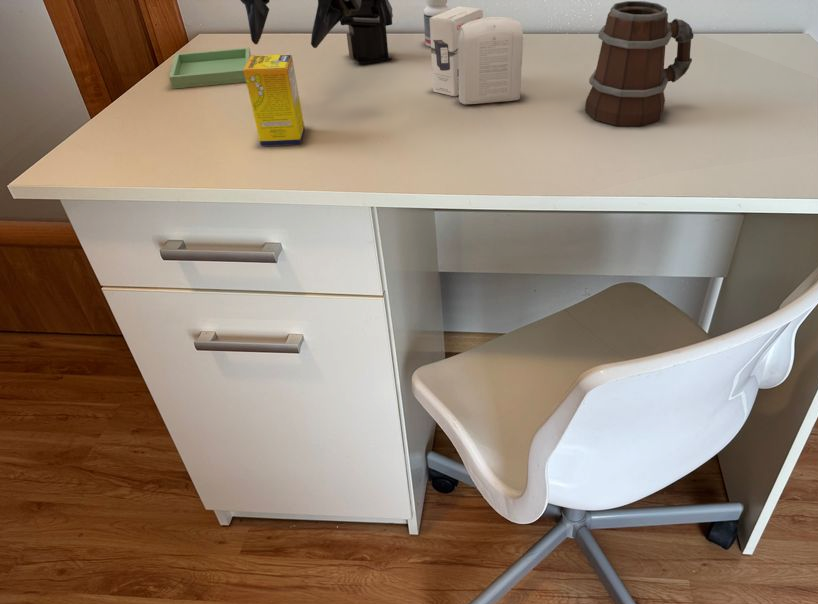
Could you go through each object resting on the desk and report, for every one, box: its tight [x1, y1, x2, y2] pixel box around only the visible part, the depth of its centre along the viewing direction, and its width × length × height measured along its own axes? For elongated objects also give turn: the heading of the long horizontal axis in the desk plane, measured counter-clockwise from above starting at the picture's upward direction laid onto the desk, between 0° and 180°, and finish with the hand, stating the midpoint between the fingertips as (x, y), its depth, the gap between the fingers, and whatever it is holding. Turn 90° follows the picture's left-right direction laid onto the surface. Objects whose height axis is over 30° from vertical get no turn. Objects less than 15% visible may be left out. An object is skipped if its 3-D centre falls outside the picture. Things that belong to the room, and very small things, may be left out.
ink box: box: [430, 5, 484, 97], centre depth 110 cm, size 8×5×12 cm, turn 146°
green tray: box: [168, 47, 252, 90], centre depth 121 cm, size 13×13×2 cm
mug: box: [584, 0, 694, 127], centre depth 100 cm, size 16×12×15 cm
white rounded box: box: [458, 16, 524, 105], centre depth 105 cm, size 10×4×12 cm, turn 103°
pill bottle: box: [423, 0, 451, 48], centre depth 130 cm, size 5×5×9 cm
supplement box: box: [243, 53, 306, 147], centre depth 96 cm, size 6×6×11 cm
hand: (283, 44), depth 95 cm, fingers open, 9 cm apart
